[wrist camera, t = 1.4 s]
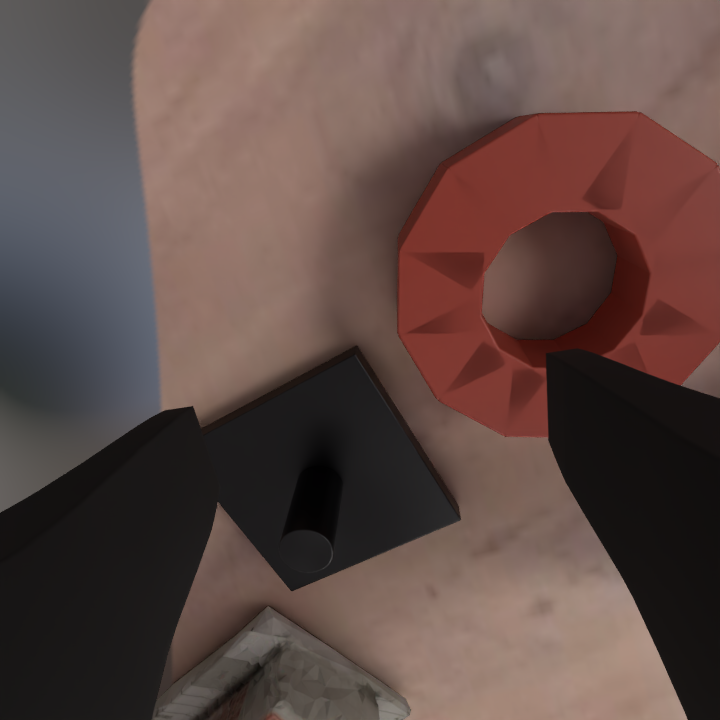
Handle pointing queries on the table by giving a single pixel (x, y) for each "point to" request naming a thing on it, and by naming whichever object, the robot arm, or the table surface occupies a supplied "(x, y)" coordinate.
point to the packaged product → (278, 681)
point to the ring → (533, 201)
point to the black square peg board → (326, 472)
